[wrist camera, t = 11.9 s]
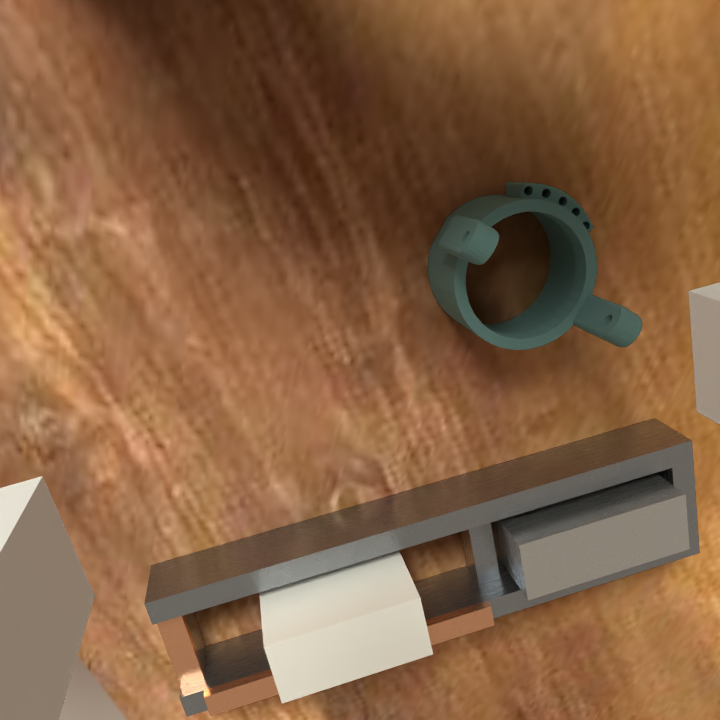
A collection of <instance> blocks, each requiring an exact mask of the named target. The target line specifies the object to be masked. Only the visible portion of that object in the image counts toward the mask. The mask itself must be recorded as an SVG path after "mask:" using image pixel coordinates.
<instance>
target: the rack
mask: <svg viewBox="0 0 720 720" xmlns="http://www.w3.org/2000/svg"><path fill="white" fill-rule="evenodd" d="M458 532H461V538H462V543H463V548H464V553H465V558H466V563H467V566H465V567H462V568H459V569H456V570H453V571H449V572H446V573H443V574H440V575H436V576H433V577H430V578H427V579H423V580H420V581H417V582H414V585H415V587H416V589H417V591H418V594H419V596H420V598H421V603H422V607H423V611H424V616H425V620H426V625H427V629H428V634H429V638H430V642H431V646H432V645H435V644H438V643H441V642H444V641H447V640H450V639H454V638H457V637H460V636H463V635H466V634H469V633H472V632H475V631H478V630H482V629H485V628H488V627H491V626H494V625H495V624H494V618H497V617H500V616H504V615H507V614H510V613H513V612H516V611H519V610H522V609H525V608H529V607H532V606H535V605H538V604H541V603H544V602H547V601H551V600H554V599H557V598H560V597H563V596H566V595H569V594H572V593H576V592H579V591H582V590H585V589H588V588H591V587H594V586H597V585H601V584H604V583H607V582H610V581H613V580H616V579H619V578H623V577H626V576H629V575H632V574H635V573H638V572H641V571H644V570H648V569H651V568H654V567H657V566H660V565H663V564H666V563H669V562H673V561H676V560H679V559H682V558H685V557H688V556H691V555H695V554H698V553H700V551H699V536H698V521H697V507H696V492H695V478H694V463H693V448H692V440H690V439H688V438H687V437H685V436H683V435H682V434H680V433H678V432H677V431H675V430H673V429H672V428H670V427H668V426H667V425H665V424H663V423H662V422H660V421H658V420H657V419H651V420H648V421H645V422H641V423H638V424H634V425H631V426H627V427H624V428H621V429H617V430H614V431H610V432H607V433H603V434H600V435H597V436H593V437H590V438H586V439H583V440H579V441H576V442H573V443H569V444H566V445H562V446H559V447H555V448H552V449H549V450H545V451H542V452H538V453H535V454H531V455H528V456H525V457H521V458H518V459H514V460H511V461H507V462H504V463H501V464H497V465H494V466H490V467H487V468H484V469H480V470H477V471H473V472H470V473H466V474H463V475H460V476H456V477H453V478H449V479H446V480H442V481H439V482H436V483H432V484H429V485H425V486H422V487H418V488H415V489H412V490H408V491H405V492H401V493H398V494H394V495H391V496H388V497H384V498H381V499H377V500H374V501H370V502H367V503H364V504H360V505H357V506H353V507H350V508H346V509H343V510H340V511H336V512H333V513H329V514H326V515H323V516H319V517H316V518H312V519H309V520H305V521H302V522H299V523H295V524H292V525H288V526H285V527H281V528H278V529H275V530H271V531H268V532H264V533H261V534H257V535H254V536H251V537H247V538H244V539H240V540H237V541H233V542H230V543H227V544H223V545H220V546H216V547H213V548H209V549H206V550H203V551H199V552H196V553H192V554H189V555H185V556H182V557H179V558H175V559H172V560H168V561H165V562H162V563H158V564H155V565H151V570H150V576H149V582H148V587H147V593H146V599H145V606H146V609H147V612H148V614H149V617H150V620H151V622H152V625H153V624H157V625H158V628H159V630H160V633H161V636H162V638H163V641H164V644H165V646H166V649H167V652H168V655H169V657H170V660H171V663H172V665H173V668H174V671H175V673H176V676H177V679H178V681H179V684H180V687H181V689H180V700H181V702H182V705H183V708H184V710H185V713H186V716H191V715H194V714H197V713H200V712H203V711H206V710H209V713H210V716H213V715H217V714H220V713H223V712H226V711H229V710H232V709H235V708H238V707H241V706H245V705H248V704H251V703H254V702H257V701H260V700H263V699H266V698H270V697H273V696H276V695H279V693H278V690H277V687H276V684H275V681H274V677H273V674H272V671H271V668H270V665H269V662H268V659H267V656H266V653H265V649H264V644H263V632H262V629H261V630H258V631H255V632H252V633H248V634H245V635H242V636H239V637H235V638H232V639H229V640H226V641H222V642H219V643H216V644H213V645H209V646H205V643H204V641H203V638H202V635H201V632H200V629H199V626H198V623H197V621H196V618H195V615H194V612H196V611H200V610H203V609H206V608H210V607H213V606H216V605H219V604H223V603H226V602H229V601H233V600H236V599H239V598H243V597H246V596H249V595H253V594H256V593H259V592H263V591H266V590H269V589H272V588H276V587H279V586H282V585H286V584H289V583H292V582H296V581H299V580H302V579H306V578H309V577H312V576H316V575H319V574H322V573H325V572H329V571H332V570H335V569H339V568H342V567H345V566H349V565H352V564H355V563H359V562H362V561H365V560H368V559H372V558H375V557H378V556H382V555H385V554H388V553H392V552H395V551H398V550H402V549H405V548H408V547H412V546H415V545H418V544H421V543H425V542H428V541H431V540H435V539H438V538H441V537H445V536H448V535H451V534H455V533H458ZM496 555H497V556H498V557H497V556H496Z"/></svg>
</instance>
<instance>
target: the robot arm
mask: <svg viewBox="0 0 720 720" xmlns="http://www.w3.org/2000/svg"><path fill="white" fill-rule="evenodd" d="M688 294H689V308H690V322H691V336H692V350H693V365H694V379H695V393H696V407H697V412H698V413H700V414H702V415H703V416H705V417H707V418H709V419H710V420H712V421H714V422H716V423H717V424H719V425H720V282H719V283H715V284H712V285H708V286H705V287H701V288H698V289H694V290H691V291H688ZM94 597H95V594H94V592H93V590H92V588H91V585H90V583H89V581H88V579H87V576H86V574H85V572H84V569H83V567H82V565H81V563H80V560H79V558H78V556H77V554H76V551H75V549H74V547H73V544H72V542H71V540H70V538H69V535H68V533H67V531H66V529H65V526H64V524H63V522H62V519H61V517H60V515H59V513H58V510H57V508H56V506H55V503H54V501H53V499H52V497H51V494H50V492H49V490H48V488H47V485H46V483H45V481H44V478H43V476H41V477H38V478H34V479H31V480H27V481H24V482H20V483H17V484H13V485H10V486H6V487H3V488H1V489H0V720H59V717H60V713H61V710H62V706H63V703H64V700H65V696H66V693H67V689H68V686H69V682H70V679H71V676H72V672H73V669H74V665H75V662H76V659H77V655H78V652H79V648H80V645H81V642H82V638H83V635H84V631H85V628H86V625H87V621H88V618H89V614H90V611H91V607H92V604H93V601H94Z"/></svg>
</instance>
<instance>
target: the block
mask: <svg viewBox="0 0 720 720" xmlns="http://www.w3.org/2000/svg"><path fill="white" fill-rule="evenodd" d="M259 596H260V608H261V620H262V632H263V644H264V649H265V653H266V656H267V659H268V662H269V665H270V668H271V671H272V674H273V677H274V681H275V684H276V687H277V690H278V693H279V696H280V699H281V702H282V703H285V702H288V701H291V700H294V699H298V698H301V697H304V696H307V695H310V694H313V693H316V692H319V691H322V690H325V689H328V688H331V687H334V686H338V685H341V684H344V683H347V682H350V681H353V680H356V679H359V678H362V677H365V676H368V675H371V674H374V673H377V672H381V671H384V670H387V669H390V668H393V667H396V666H399V665H402V664H405V663H408V662H411V661H414V660H417V659H420V658H424V657H427V656H430V655H433V651H432V647H431V642H430V638H429V634H428V629H427V625H426V620H425V616H424V611H423V607H422V603H421V598H420V596H419V594H418V591H417V589H416V587H415V585H414V582H413V580H412V578H411V576H410V574H409V571H408V569H407V567H406V565H405V562H404V560H403V558H402V556H401V554H400V551H399V550H398V551H395V552H392V553H388V554H385V555H382V556H378V557H375V558H372V559H368V560H365V561H362V562H359V563H355V564H352V565H349V566H345V567H342V568H339V569H335V570H332V571H329V572H325V573H322V574H319V575H316V576H312V577H309V578H306V579H302V580H299V581H296V582H292V583H289V584H286V585H282V586H279V587H276V588H272V589H269V590H266V591H263V592H259Z"/></svg>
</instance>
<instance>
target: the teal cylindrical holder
mask: <svg viewBox="0 0 720 720" xmlns="http://www.w3.org/2000/svg"><path fill="white" fill-rule="evenodd" d="M527 211H530V212H531V213H532V214H533V215H534V216H535V217H536V218H537V219H538V221H539V222H540V223H541V225H542V226H543V228H544V230H545V232H546V235H547V237H548V241H549V245H550V255H551V261H550V270H549V274H548V277H547V280H546V283H545V285H544V287H543V289H542V291H541V293H540V294H539V296H538V297H537V298H536V300H535V301H534V302H533V303H532V304H531V305H530V306H529V307H528V308H527V309H526V310H525V311H523V312H522V313H521V314H519V315H518V316H516V317H514V318H512V319H510V320H507V321H504V322H500V323H496V324H482V323H481V322H480V320H479V319H478V318H477V316H476V315H475V314H474V312H473V310H472V308H471V306H470V304H469V300H468V296H467V292H466V272H467V266H468V263H469V262H471V263H473V264H476V265H481V264H484V263H485V262H486V261H487V260H488V259H489V258H490V256H491V255H492V253H493V252H494V250H495V248H496V246H497V244H498V241H499V234H498V232H497V231H496V230H495V229H493V228H492V226H493V225H494V224H496V223H497V222H499V221H501V220H502V219H504V218H506V217H509V216H511V215H514V214H516V213H522V212H527ZM592 229H593V225H592V223H591V221H590V219H589V217H588V215H587V214H586V212H585V211H584V209H583V208H582V207H581V206H580V205H579V204H578V203H577V202H576V201H575V200H574V199H573V198H572V197H571V196H569V195H568V194H566V193H565V192H563V191H561V190H559V189H557V188H555V187H552V186H549V185H544V184H539V183H526V182H507V183H506V185H505V195H487V196H483V197H478V198H475V199H473V200H471V201H469V202H466V203H465V204H463V205H462V206H460V207H459V208H457V209H456V210H455V211H454V212H453V213H451V214H450V215H449V216H448V217H447V218H446V220H445V222H444V224H443V226H442V227H441V229H440V231H439V233H438V234H437V236H436V238H435V240H434V242H433V243H432V245H431V248H430V253H429V257H428V276H429V283H430V286H431V289H432V292H433V295H434V297H435V298H436V300H437V302H438V304H439V305H440V306H441V308H442V309H443V310H444V311H445V312H446V313H447V314H448V315H449V316H450V317H452V318H453V319H454V320H456V321H457V322H459V323H460V324H461V325H463V326H464V327H466V328H467V329H469V330H470V331H472V332H473V333H475V334H476V335H478V336H479V337H481V338H482V339H484V340H485V341H487V342H488V343H491V344H493V345H495V346H497V347H501V348H505V349H510V350H525V349H533V348H536V347H540V346H543V345H546V344H548V343H550V342H552V341H554V340H556V339H557V338H559V337H560V336H561V335H563V334H564V333H566V332H567V331H568V330H569V329H570V328H571V327H572V326H573V325H575V326H577V327H579V328H581V329H583V330H584V331H586V332H588V333H590V334H593V335H595V336H597V337H599V338H601V339H603V340H605V341H607V342H609V343H612V344H614V345H616V346H618V347H627V346H629V345H630V344H632V343H633V342H634V341H635V340H636V338H637V337H638V335H639V334H640V331H641V329H642V320H641V318H640V317H639V316H638V315H637V314H635V313H633V312H632V311H630V310H628V309H627V308H625V307H623V306H621V305H619V304H616V303H613V302H610V301H608V300H605V299H602V298H599V297H597V296H594V295H592V294H593V290H594V287H595V283H596V275H597V257H596V252H595V247H594V244H593V241H592V239H591V236H590V234H589V232H590V231H591V230H592Z"/></svg>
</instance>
